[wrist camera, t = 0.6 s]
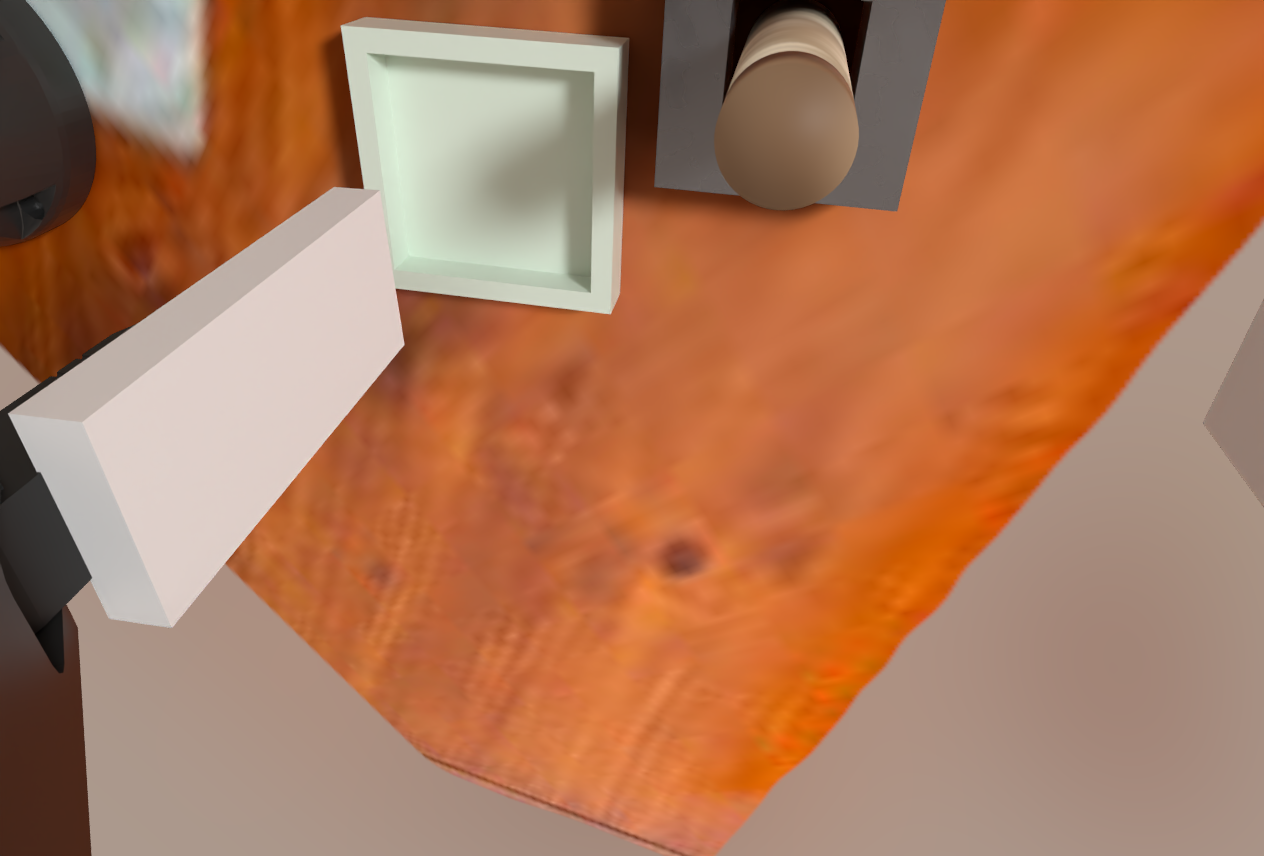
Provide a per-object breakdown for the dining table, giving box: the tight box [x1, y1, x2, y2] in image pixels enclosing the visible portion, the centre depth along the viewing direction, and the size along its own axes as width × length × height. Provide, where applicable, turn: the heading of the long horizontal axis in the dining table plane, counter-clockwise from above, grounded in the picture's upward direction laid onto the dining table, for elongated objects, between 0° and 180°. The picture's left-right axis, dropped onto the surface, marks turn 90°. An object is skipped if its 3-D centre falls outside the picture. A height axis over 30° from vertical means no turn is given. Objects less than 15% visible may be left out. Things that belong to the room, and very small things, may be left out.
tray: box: [341, 17, 629, 314], centre depth 39 cm, size 12×12×2 cm
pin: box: [714, 0, 859, 210], centre depth 29 cm, size 4×4×14 cm
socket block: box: [654, 0, 946, 211], centre depth 33 cm, size 10×10×4 cm
